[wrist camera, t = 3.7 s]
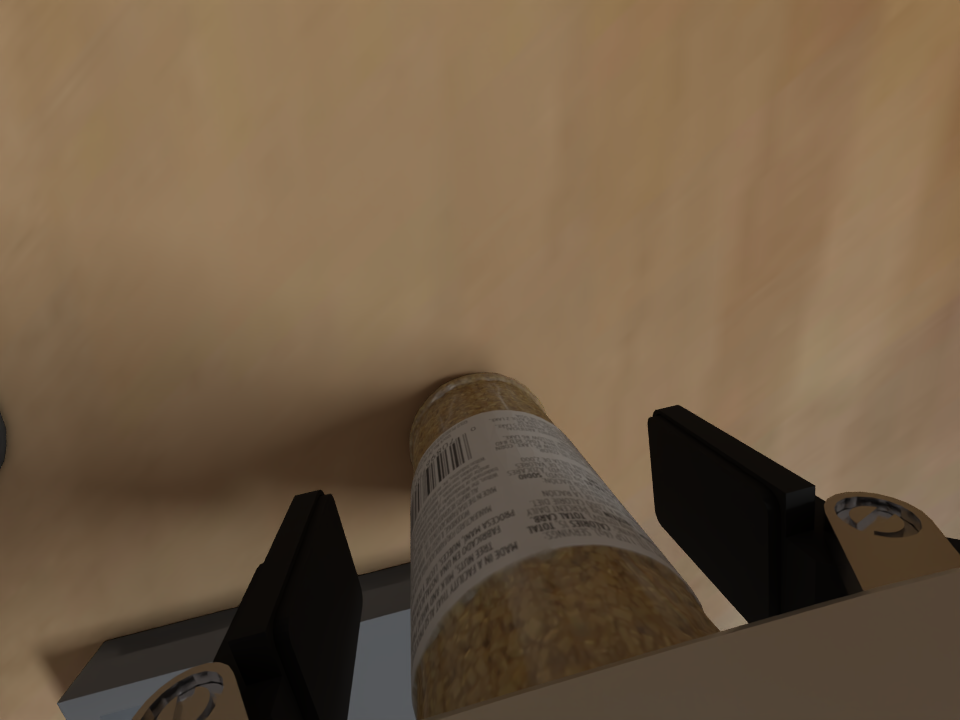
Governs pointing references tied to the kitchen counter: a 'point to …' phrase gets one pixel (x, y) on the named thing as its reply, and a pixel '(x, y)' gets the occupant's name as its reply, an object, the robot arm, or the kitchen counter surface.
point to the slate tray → (178, 647)
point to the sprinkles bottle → (523, 554)
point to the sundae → (2, 440)
